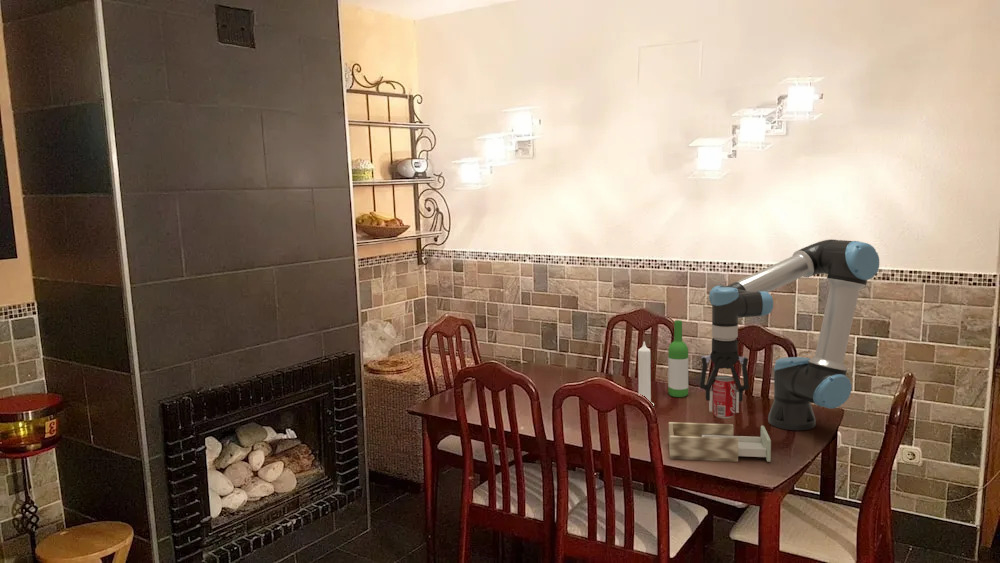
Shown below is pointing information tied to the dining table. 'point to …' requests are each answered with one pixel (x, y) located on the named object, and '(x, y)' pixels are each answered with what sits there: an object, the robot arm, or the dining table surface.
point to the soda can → (724, 397)
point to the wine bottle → (678, 364)
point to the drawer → (752, 445)
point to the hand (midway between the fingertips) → (723, 410)
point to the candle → (644, 372)
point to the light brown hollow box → (702, 442)
